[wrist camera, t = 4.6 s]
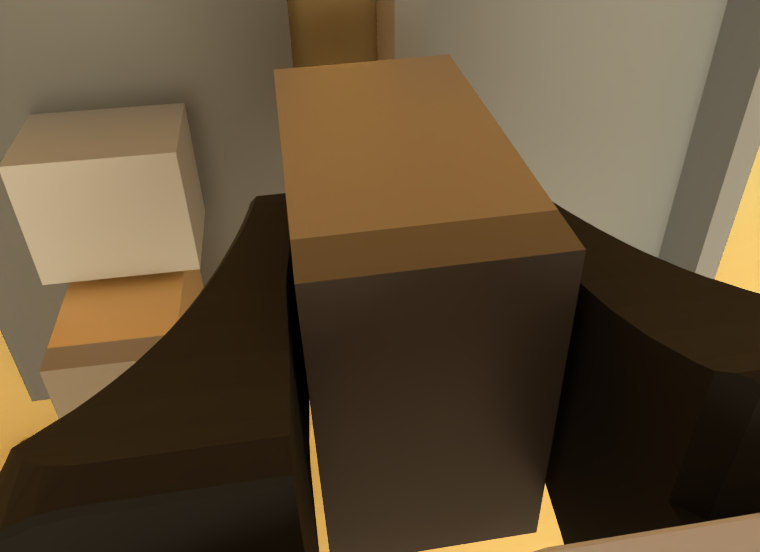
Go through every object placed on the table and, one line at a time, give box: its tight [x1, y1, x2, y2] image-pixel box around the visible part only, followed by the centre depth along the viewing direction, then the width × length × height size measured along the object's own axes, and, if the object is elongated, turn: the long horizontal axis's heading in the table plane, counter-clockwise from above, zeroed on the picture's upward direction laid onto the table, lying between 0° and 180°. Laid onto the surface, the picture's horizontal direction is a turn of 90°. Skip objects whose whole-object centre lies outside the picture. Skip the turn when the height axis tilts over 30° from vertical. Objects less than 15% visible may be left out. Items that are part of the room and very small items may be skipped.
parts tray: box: [376, 0, 760, 279], centre depth 21 cm, size 16×11×3 cm
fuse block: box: [0, 0, 293, 401], centre depth 19 cm, size 10×17×4 cm, turn 1°
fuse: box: [39, 269, 204, 419], centre depth 20 cm, size 5×3×6 cm, turn 1°
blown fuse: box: [274, 54, 586, 552], centre depth 11 cm, size 5×3×6 cm, turn 2°
